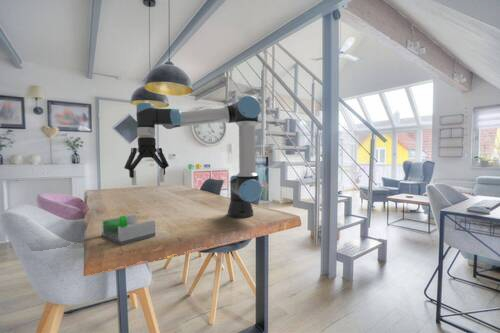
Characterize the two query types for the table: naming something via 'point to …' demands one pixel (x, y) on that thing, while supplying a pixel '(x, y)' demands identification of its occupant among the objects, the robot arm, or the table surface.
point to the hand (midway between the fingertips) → (148, 183)
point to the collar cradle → (127, 230)
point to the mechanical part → (123, 221)
